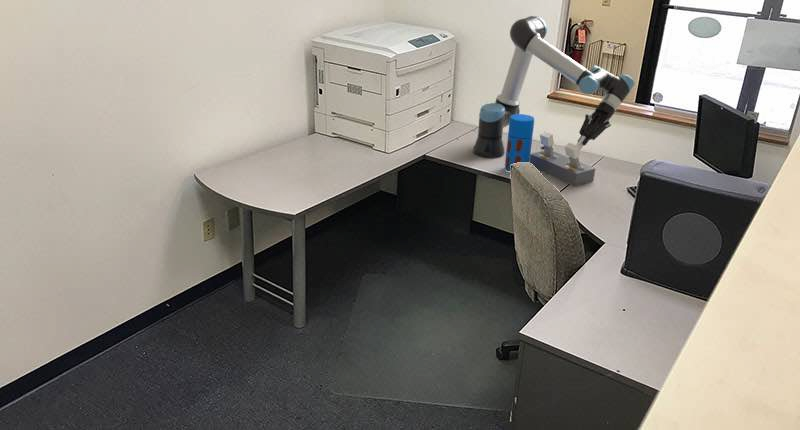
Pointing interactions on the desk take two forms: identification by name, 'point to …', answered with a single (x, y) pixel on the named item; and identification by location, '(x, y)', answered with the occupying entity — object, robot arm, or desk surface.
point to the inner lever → (547, 142)
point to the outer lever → (573, 154)
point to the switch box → (562, 168)
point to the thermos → (519, 139)
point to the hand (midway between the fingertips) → (576, 149)
